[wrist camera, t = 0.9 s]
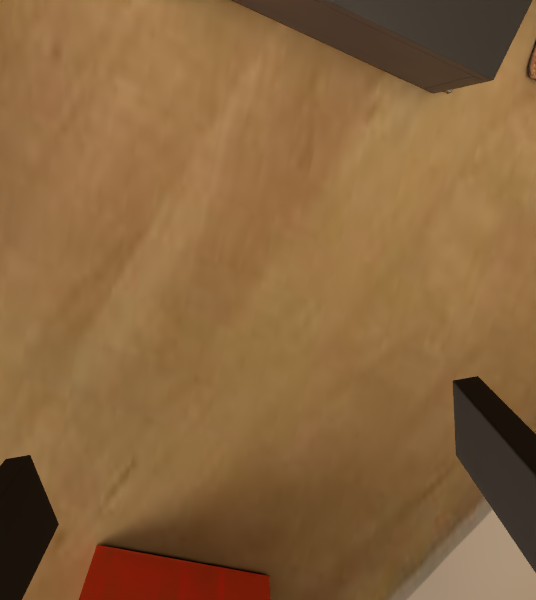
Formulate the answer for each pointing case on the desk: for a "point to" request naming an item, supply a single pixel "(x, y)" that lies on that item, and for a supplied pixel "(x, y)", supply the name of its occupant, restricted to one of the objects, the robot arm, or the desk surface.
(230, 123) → the desk surface
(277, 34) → the desk surface
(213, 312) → the desk surface
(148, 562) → the tall red block
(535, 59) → the sunglasses case
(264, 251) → the desk surface
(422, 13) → the cover
